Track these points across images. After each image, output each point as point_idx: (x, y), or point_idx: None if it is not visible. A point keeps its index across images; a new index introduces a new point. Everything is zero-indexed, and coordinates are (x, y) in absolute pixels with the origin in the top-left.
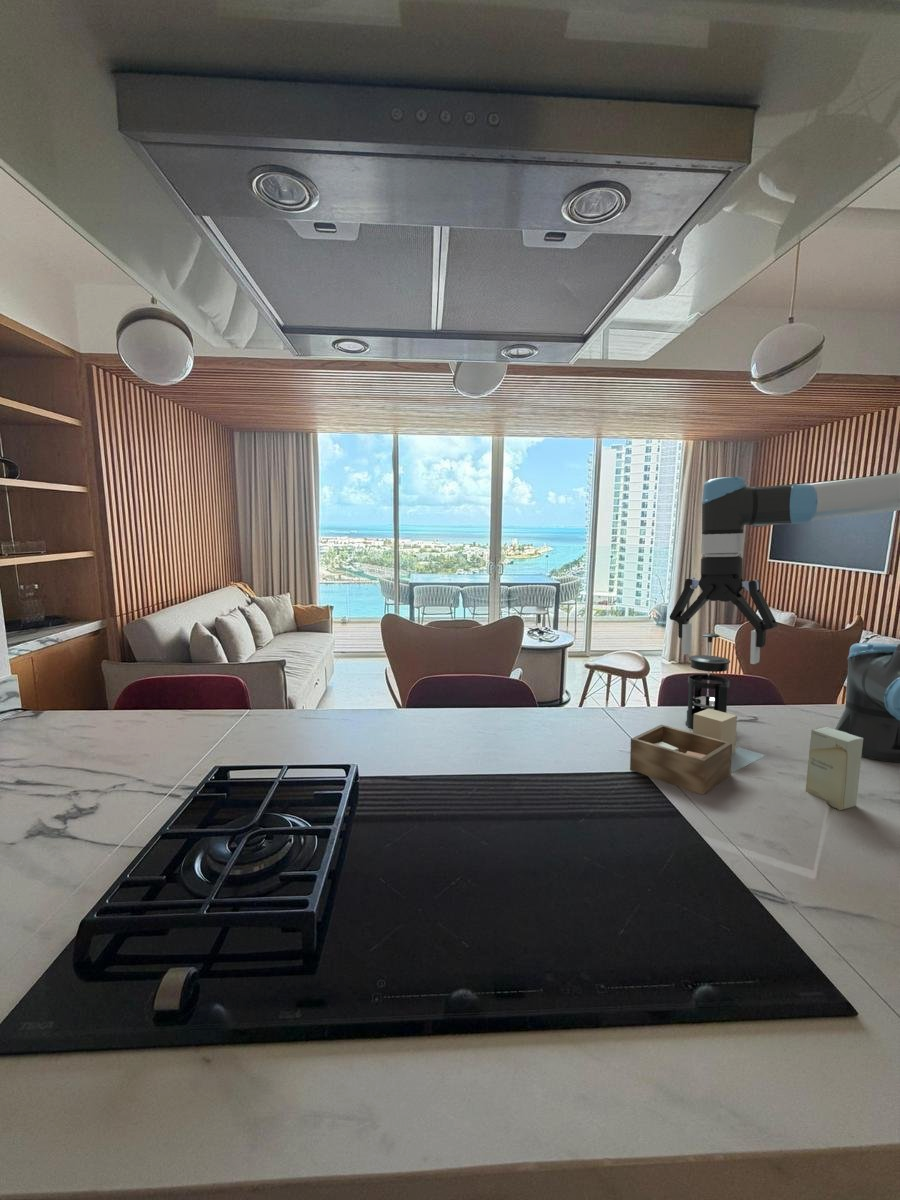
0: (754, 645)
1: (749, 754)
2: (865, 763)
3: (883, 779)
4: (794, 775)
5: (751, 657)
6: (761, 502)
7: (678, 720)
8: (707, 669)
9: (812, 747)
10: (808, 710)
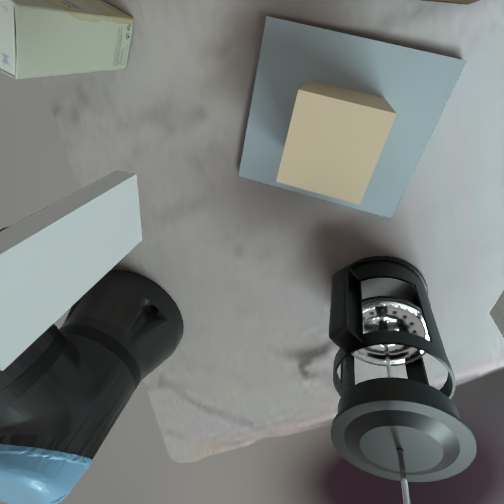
0: (39, 212)
1: (264, 160)
2: None
3: None
4: (179, 119)
5: (109, 184)
6: None
7: (445, 302)
8: (394, 382)
9: (49, 4)
10: (243, 425)
